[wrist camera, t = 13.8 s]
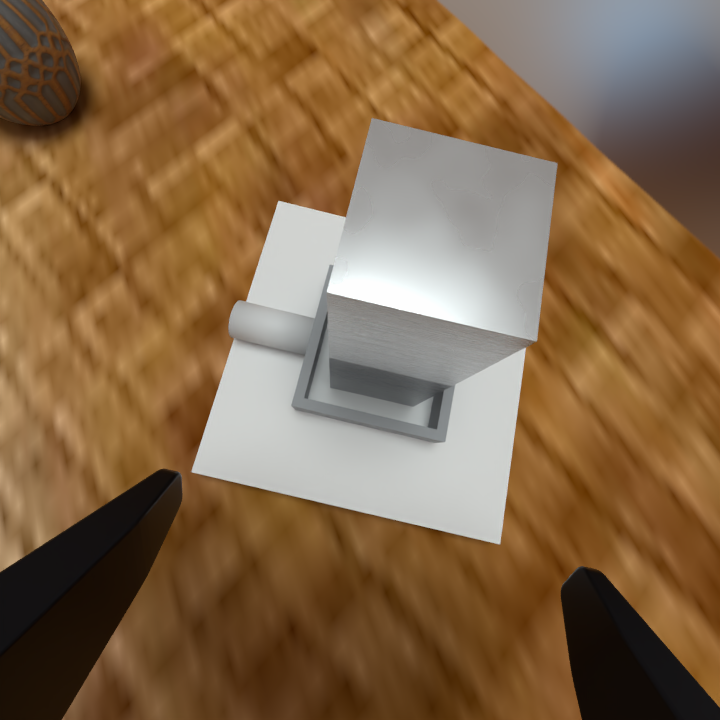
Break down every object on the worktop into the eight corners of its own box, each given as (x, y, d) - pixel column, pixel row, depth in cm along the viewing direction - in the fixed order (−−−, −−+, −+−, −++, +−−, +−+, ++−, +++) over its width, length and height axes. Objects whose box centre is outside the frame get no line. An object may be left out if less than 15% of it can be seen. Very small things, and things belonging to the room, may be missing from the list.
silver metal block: (413, 406, 21) (536, 341, 8) (330, 387, 21) (326, 292, 8) (428, 327, 22) (557, 162, 9) (349, 309, 22) (372, 117, 9)
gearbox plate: (488, 538, 21) (518, 554, 18) (201, 470, 21) (175, 474, 17) (524, 275, 25) (555, 247, 21) (281, 215, 25) (273, 178, 21)
